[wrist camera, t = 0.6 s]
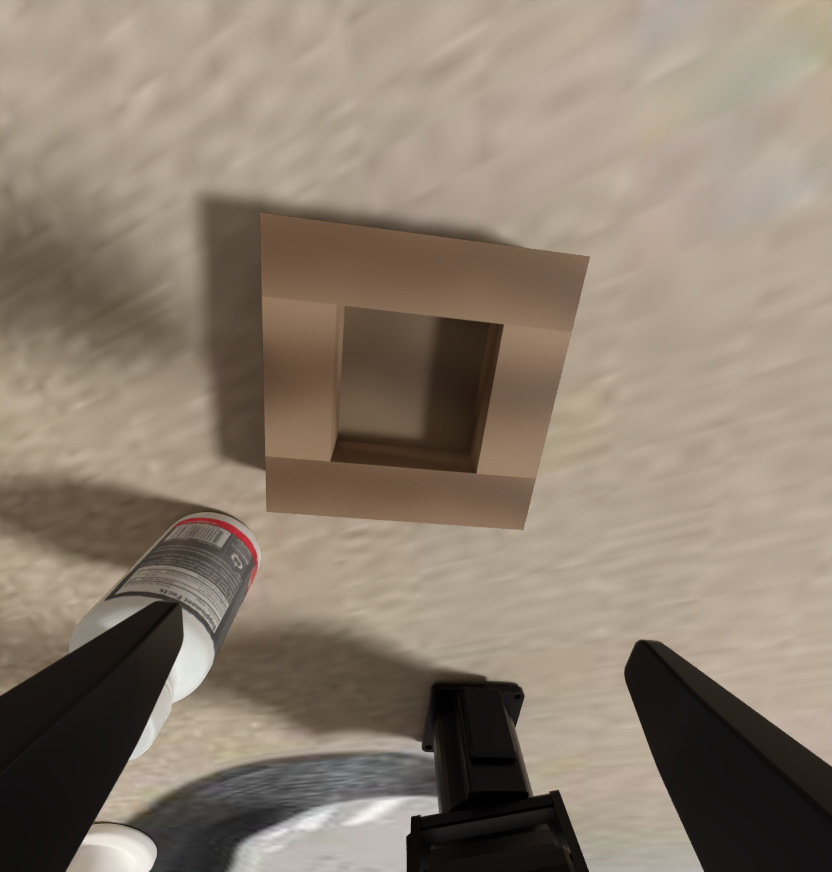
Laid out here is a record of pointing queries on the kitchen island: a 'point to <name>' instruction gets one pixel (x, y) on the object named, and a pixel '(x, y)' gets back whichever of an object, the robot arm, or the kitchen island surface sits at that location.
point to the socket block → (409, 371)
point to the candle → (114, 850)
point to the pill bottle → (183, 598)
